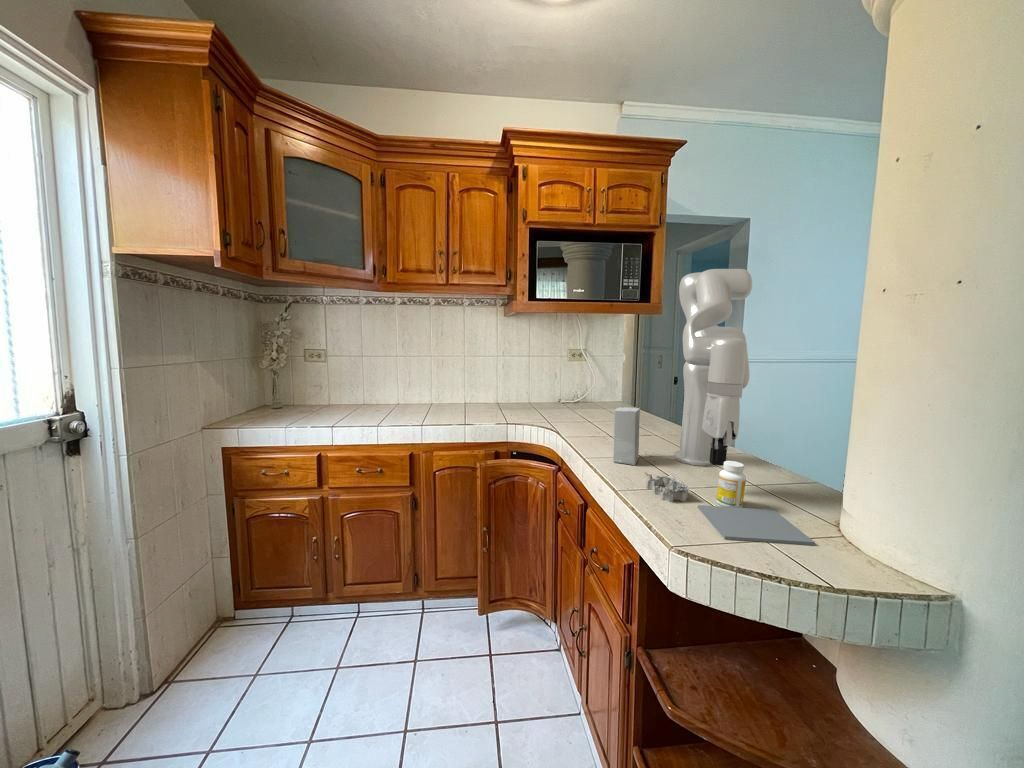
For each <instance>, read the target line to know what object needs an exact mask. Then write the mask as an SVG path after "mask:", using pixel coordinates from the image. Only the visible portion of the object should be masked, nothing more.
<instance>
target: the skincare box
mask: <svg viewBox="0 0 1024 768" xmlns="http://www.w3.org/2000/svg"><path fill="white" fill-rule="evenodd" d="M640 409H641V408H640V407H627V406H626V407H622V406H619V407H616V408H615V409H614V413H613V414H614V417H613V421H614V422H613V459H612V460H613V461H612V462H614V463H617V464H618V463H619V464H625V465H630V466H631V465H632V466H636V464H637V462H638V461H639V455H640V454H639V453H640V452H639V450H640V449H639V447H640V446H639V445H640V415H641V410H640Z"/></svg>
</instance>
